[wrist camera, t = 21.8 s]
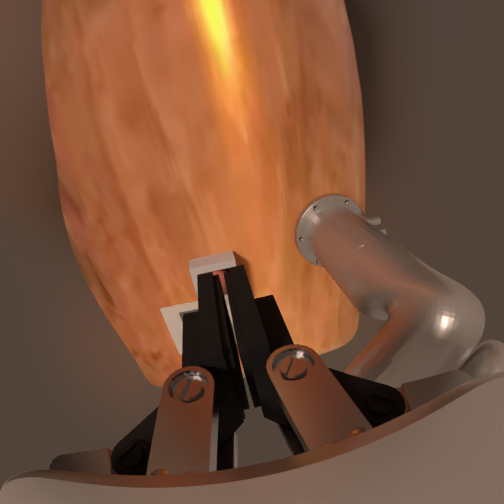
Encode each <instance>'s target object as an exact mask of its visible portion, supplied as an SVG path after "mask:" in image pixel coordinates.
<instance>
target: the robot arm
mask: <svg viewBox="0 0 504 504" xmlns="http://www.w3.org/2000/svg"><path fill="white" fill-rule="evenodd" d="M314 206H315V207H314ZM313 207H314V208H313ZM380 224H381V220H380V218H379V217H374V218H371V219H368V218H367V217H365V216H364V215H363V213H362V211H361V209H360V207H359V206H358V205H357V204H356V203H355V202H354V201H353V200H351V199H350V198H348V197H346V196H343V195H339V194H330V195H325V196H322V197H320V198H318V199H316V200H314V201H313V202H312V203H310V204H309V205H308V206H307V207H306V208H305V210H304V211H303V212H302V214H301V215H300V217H299V219H298V222H297V225H296V230H295V241H296V245H297V247H298V249H299V251H300V253H301V254H302V256H303V257H304V258H305V259H306V260H307V261H309V262H311V263H312V264H315V265H319V266H323V267H324V268H325V269H326V271H327V272H328V273H329V274H330V276H331V277H332V278H333V280H334V281H335V282H336V283H337V285H338V286H339V287H340V289H341V290H342V291H343V292H344V294H345V295H346V296H347V298H348V299H349V300H350V302H351V303H352V304H353V306H354V307H355V308H356V309H357V310H358V311H359V312H360V313H362V314H363V315H365V316H367V317H369V318H373V319H377V320H386V322H385V323H384V325H383V326H382V328H381V329H380V330H379V331H378V333H377V335H376V336H375V337H374V338H373V339H372V341H371V342H370V343H369V344H368V345H367V346H366V348H365V349H364V350H363V351H362V352H361V353H360V354H359V355H358V357H357V358H356V359H355V360H354V361H353V362H352V363H351V365H350V366H349V367H348V368H347V369H346V370H345V372H344V373H343V372H340V371H337V370H334V369H330V368H328V367H327V366H326V365H325V363H324V362H323V360H322V359H321V358H320V356H319V355H318V354H317V353H316V352H315V351H314V350H313V349H311V348H309V347H307V346H304V345H299V344H294V343H293V341H292V339H291V336H290V334H289V332H288V329H287V327H286V324H285V322H284V320H283V317H282V315H281V313H280V310H279V308H278V305H277V303H276V301H275V298H274V296H273V295H269V296H265V297H261V298H256V299H254V297H253V294H252V290H251V287H250V284H249V281H248V278H247V275H246V272H245V269H244V265H240V266H235V267H230V268H229V272H226V273H224V279H225V284H226V290H227V295H228V300H229V305H230V311H231V316H232V321H233V326H234V331H235V336H236V341H237V345H238V350H239V354H240V358H241V361H242V365H243V368H244V372H245V376H246V379H247V383H248V386H249V390H250V393H251V397H252V400H253V403H254V407H259V406H261V407H262V411H263V415H264V417H265V418H267V419H269V420H272V421H274V422H276V423H277V426H278V428H279V430H280V432H281V434H282V436H283V438H284V440H285V442H286V444H287V446H288V448H289V450H290V452H291V453H292V455H293V456H291V457H287V458H283V459H279V460H274V461H270V462H265V463H261V464H256V465H251V466H246V467H239V468H238V467H237V466H238V465H237V431H236V430H237V429H238V428H239V426H240V425H241V424H242V423H243V422H244V420H243V419H245V414H244V410H245V409H249V404H248V399H247V395H246V390H245V385H244V380H243V376H242V371H241V366H240V361H239V356H238V351H237V347H236V342H235V337H234V332H233V328H232V324H231V320H230V317H229V313H228V309H227V305H226V301H225V297H224V293H223V289H222V285H221V281H220V277H219V274H217V275H213V272H207V273H203V274H198V275H197V287H198V311H196V312H191V313H186V314H183V330H182V368H181V369H178V370H176V371H175V372H173V373H172V374H171V375H170V376H169V377H168V378H167V379H166V380H165V383H164V385H163V389H162V394H161V399H160V403H159V406H158V407H157V408H156V409H155V410H154V411H153V412H152V413H151V414H150V415H148V416H147V417H146V418H145V419H144V420H143V421H142V422H141V423H140V424H139V425H138V426H136V427H135V428H134V429H133V430H132V431H131V432H130V433H129V434H128V435H126V436H125V437H124V438H123V439H122V440H121V441H120V442H119V443H118V444H117V445H116V446H115V447H114V448H113V449H109V448H108V447H104V448H99V449H93V450H88V451H82V452H76V453H70V454H62V455H59V456H57V457H55V458H54V459H53V460H52V462H51V464H50V467H49V469H44V470H43V469H42V470H33V471H27V472H23V473H20V474H17V475H15V476H13V477H11V478H9V479H8V480H7V481H6V482H5V483H4V485H3V486H2V489H1V491H0V504H504V344H503V343H501V342H499V341H497V340H488V341H485V342H483V343H481V344H480V345H479V346H477V344H478V342H479V340H480V338H481V336H482V333H483V330H484V325H485V313H484V309H483V307H482V305H481V303H480V301H479V300H478V299H477V297H476V296H475V295H474V294H473V293H472V292H471V291H469V290H468V289H466V288H465V287H464V286H462V285H461V284H459V283H457V282H455V281H454V280H452V279H450V278H448V277H446V276H445V275H443V274H441V273H439V272H437V271H436V270H434V269H432V268H431V267H429V266H427V265H426V264H424V263H423V262H422V261H420V260H419V259H417V258H416V257H415V256H413V255H412V254H410V253H409V252H408V251H406V250H405V249H404V248H402V247H401V246H400V245H399V244H397V243H396V242H394V241H393V240H392V239H391V238H389V237H388V236H387V234H386V230H385V229H384V228H378V229H377V228H376V227H374V226H376V225H380ZM300 237H301V238H300ZM476 346H477V347H476Z"/></svg>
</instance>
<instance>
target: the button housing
mask: <svg viewBox="0 0 504 504" xmlns="http://www.w3.org/2000/svg"><path fill="white" fill-rule="evenodd" d="M235 266H236V262H235V258H234V254H233V251H228V252H223V253H219V254H214V255H209V256H205V257H200V258H196V259H191V260H189V270H190V274H191V277H192V280H193V284H194V287H195V290H196V294H197V297H198V287H197V275H198V274H202V273H207V272H212V271H216V270H221V269H226V268H230V267H235ZM224 297H225V301H226V300H228V295H227V293H226V294H224Z"/></svg>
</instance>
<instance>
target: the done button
mask: <svg viewBox="0 0 504 504" xmlns="http://www.w3.org/2000/svg"><path fill="white" fill-rule="evenodd" d="M212 272H213V275H217V274H219V277H220V281H221V285H222V289H223V293H224V294H226V293H227V290H226V284H225V279H224V273H226V272H227V270H226V269H221V270H216V271H212Z"/></svg>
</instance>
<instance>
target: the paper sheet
mask: <svg viewBox="0 0 504 504" xmlns="http://www.w3.org/2000/svg"><path fill="white" fill-rule="evenodd" d="M226 305H227V309H228V313H229V317H230V320H231V324H232V328H233V332H234V337H235V342H236V344H237V341H236V336H235V331H234V326H233V321H232V316H231V311H230V305H229V300H226ZM160 310H161V313H162V315H163V317H164V320H165V322H166V324H167V327H168V329H169V331H170V334H171V336H172V338H173V340H174V343H175V345H176V347H177V349H178V351H179V354H180V355H182V330H183V314H186V313H191V312H196V311H198V301H194V302H189V303H184V304H179V305H174V306H169V307H164V308H160Z"/></svg>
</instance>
